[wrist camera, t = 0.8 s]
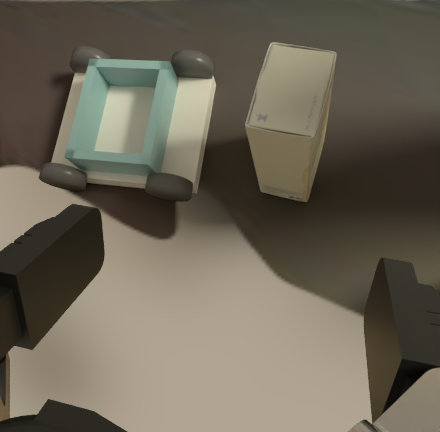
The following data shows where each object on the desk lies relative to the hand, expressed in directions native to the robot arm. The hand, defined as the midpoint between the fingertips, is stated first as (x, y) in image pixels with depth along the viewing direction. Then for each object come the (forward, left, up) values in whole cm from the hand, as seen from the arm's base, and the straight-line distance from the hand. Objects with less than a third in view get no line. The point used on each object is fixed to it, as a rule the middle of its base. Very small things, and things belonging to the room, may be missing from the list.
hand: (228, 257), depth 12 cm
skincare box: (0, -12, -23) cm, 26 cm away
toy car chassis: (+15, -14, -23) cm, 31 cm away
